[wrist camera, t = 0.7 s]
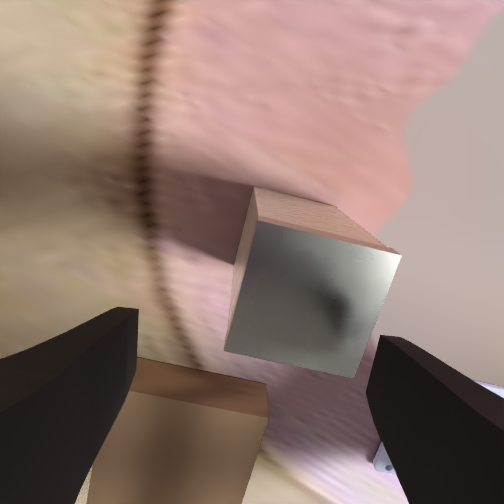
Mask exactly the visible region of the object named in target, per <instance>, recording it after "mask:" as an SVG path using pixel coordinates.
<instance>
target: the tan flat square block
mask: <svg viewBox="0 0 504 504" xmlns="http://www.w3.org/2000/svg"><path fill="white" fill-rule="evenodd" d="M268 420H269V413H268V400H267V388H266V384H264V383H259V382H254V381H249V380H244V379H240V378H235V377H230V376H225V375H220V374H215V373H211V372H206V371H201V370H196V369H191V368H186V367H182V366H177V365H172V364H167V363H162V362H157V361H153V360H148V359H143V358H138V357H137V365H136V372H135V375H134V378H133V381H132V384H131V387H130V389H129V392H128V395H127V397H126V400H125V402H124V404H123V406H122V408H121V410H120V412H119V414H118V416H117V418H116V420H115V422H114V424H113V426H112V428H111V430H110V431H109V433H108V435H107V437H106V439H105V441H104V443H103V445H102V447H101V449H100V451H99V453H98V455H97V457H96V459H95V460H94V462H93V467H92V473H91V479H90V486H89V492H88V498H87V504H242V500H243V497H244V494H245V491H246V488H247V485H248V482H249V479H250V476H251V473H252V469H253V466H254V463H255V460H256V457H257V454H258V451H259V448H260V445H261V442H262V438H263V435H264V432H265V429H266V426H267V423H268Z"/></svg>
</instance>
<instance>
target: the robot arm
mask: <svg viewBox="0 0 504 504" xmlns="http://www.w3.org/2000/svg"><path fill="white" fill-rule="evenodd" d="M138 314H139V309H133V308H124V307H116V308H113V309H111V310H109V311H107V312H105V313H103V314H101V315H99V316H97V317H95V318H93V319H91V320H89V321H87V322H85V323H83V324H81V325H79V326H77V327H75V328H73V329H71V330H69V331H67V332H65V333H63V334H60V335H58V336H56V337H54V338H52V339H49V340H47V341H45V342H43V343H40V344H38V345H36V346H34V347H31V348H29V349H27V350H24V351H21V352H19V353H16V354H14V355H11V356H8V357H5V358H2V359H0V504H75V502H76V499H77V497H78V494H79V492H80V489H81V487H82V485H83V483H84V481H85V479H86V476H87V474H88V472H89V470H90V468H91V466H92V464H93V462H94V460H95V459H96V457H97V455H98V453H99V451H100V449H101V447H102V445H103V443H104V441H105V439H106V437H107V435H108V433H109V431H110V430H111V428H112V426H113V424H114V422H115V420H116V418H117V416H118V414H119V412H120V410H121V408H122V406H123V404H124V402H125V400H126V397H127V395H128V392H129V389H130V387H131V384H132V381H133V378H134V375H135V372H136V365H137V339H138ZM366 396H367V399H368V403H369V407H370V411H371V414H372V417H373V421H374V424H375V426H376V429H377V431H378V434H379V436H380V438H381V441H382V442H381V444H380V446H379V449H378V451H377V453H376V455H375V458H374V460H373V465H374V468H375V470H377V471H379V472H384V473H389V474H395V475H397V477H398V479H399V481H400V484H401V486H402V488H403V490H404V493H405V495H406V497H407V500H408V502H409V504H504V387H502V386H498V385H493V384H489V383H484V382H479V381H474V380H471V379H470V378H468V377H466V376H465V375H463V374H461V373H460V372H458V371H457V370H455V369H453V368H452V367H450V366H448V365H447V364H445V363H444V362H442V361H441V360H439V359H437V358H436V357H434V356H433V355H431V354H429V353H428V352H426V351H425V350H423V349H421V348H420V347H418V346H416V345H414V344H413V343H411V342H409V341H407V340H405V339H403V338H401V337H395V336H385V335H380V338H379V342H378V346H377V350H376V354H375V358H374V362H373V366H372V370H371V374H370V378H369V382H368V386H367V389H366ZM387 465H388V466H387Z"/></svg>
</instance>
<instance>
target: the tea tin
mask: <svg viewBox="0 0 504 504" xmlns="http://www.w3.org/2000/svg"><path fill="white" fill-rule="evenodd" d="M401 256H402V255H400V254H399V253H398V252H396V251H395V250H394V249H392V248H389V247H386V246H385V245H384V244H383V243H381V242H380V241H379V240H378V239H377V238H375V237H374V236H373V235H371V234H370V233H369V232H368V231H366V230H365V229H364V228H362V227H361V226H360V225H359V224H357V223H356V222H355V221H354V220H352V219H351V218H350V217H348V216H347V215H346V214H345V213H343V212H342V211H341V210H340V209H338V208H337V207H335V206H331V205H327V204H323V203H319V202H315V201H311V200H307V199H303V198H299V197H295V196H292V195H288V194H284V193H280V192H276V191H272V190H268V189H264V188H260V187H256V186H254V188H253V192H252V196H251V200H250V204H249V208H248V212H247V216H246V220H245V223H244V227H243V231H242V235H241V239H240V243H239V247H238V251H237V255H236V259H235V263H234V270H233V280H232V290H231V301H230V311H229V321H228V330H227V334H226V338H225V346H224V351H227V352H231V353H236V354H241V355H245V356H250V357H255V358H259V359H264V360H269V361H274V362H278V363H283V364H288V365H292V366H297V367H302V368H306V369H311V370H316V371H321V372H325V373H330V374H335V375H339V376H344V377H349V378H353V379H354V377H355V374H356V372H357V369H358V367H359V364H360V362H361V359H362V356H363V354H364V351H365V349H366V346H367V343H368V341H369V338H370V336H371V333H372V331H373V328H374V325H375V323H376V320H377V318H378V315H379V313H380V310H381V307H382V305H383V302H384V300H385V297H386V295H387V292H388V289H389V286H390V284H391V282H392V279H393V277H394V274H395V271H396V269H397V266H398V263H399V261H400V259H401Z"/></svg>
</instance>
